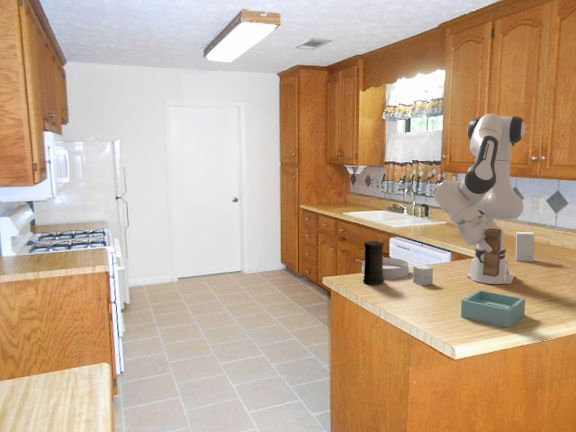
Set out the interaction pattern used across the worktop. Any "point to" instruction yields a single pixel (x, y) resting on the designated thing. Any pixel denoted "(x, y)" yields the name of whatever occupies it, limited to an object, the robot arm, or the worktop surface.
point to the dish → (392, 268)
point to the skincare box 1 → (423, 275)
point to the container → (373, 263)
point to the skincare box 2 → (525, 246)
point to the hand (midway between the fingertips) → (494, 249)
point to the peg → (492, 252)
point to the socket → (493, 308)
